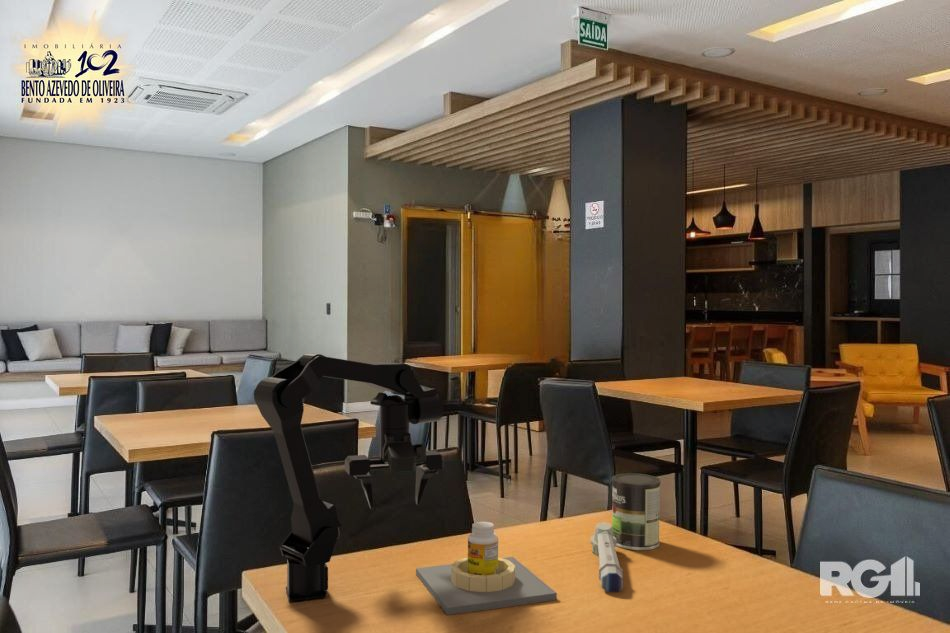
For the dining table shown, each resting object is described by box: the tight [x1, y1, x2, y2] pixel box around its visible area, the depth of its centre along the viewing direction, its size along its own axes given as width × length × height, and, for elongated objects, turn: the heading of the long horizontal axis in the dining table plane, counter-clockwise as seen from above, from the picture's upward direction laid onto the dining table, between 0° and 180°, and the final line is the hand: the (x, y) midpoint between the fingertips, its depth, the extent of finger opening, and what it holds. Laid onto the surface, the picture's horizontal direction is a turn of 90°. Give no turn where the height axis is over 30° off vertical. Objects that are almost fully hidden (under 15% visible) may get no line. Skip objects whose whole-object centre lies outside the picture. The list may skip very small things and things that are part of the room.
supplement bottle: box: [467, 521, 499, 576], centre depth 137 cm, size 6×6×10 cm
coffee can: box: [611, 472, 661, 552], centre depth 163 cm, size 10×10×14 cm
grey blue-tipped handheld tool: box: [590, 521, 624, 593], centre depth 147 cm, size 5×7×25 cm
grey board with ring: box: [415, 556, 558, 616], centre depth 138 cm, size 20×20×4 cm
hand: (394, 506), depth 147 cm, fingers open, 9 cm apart
